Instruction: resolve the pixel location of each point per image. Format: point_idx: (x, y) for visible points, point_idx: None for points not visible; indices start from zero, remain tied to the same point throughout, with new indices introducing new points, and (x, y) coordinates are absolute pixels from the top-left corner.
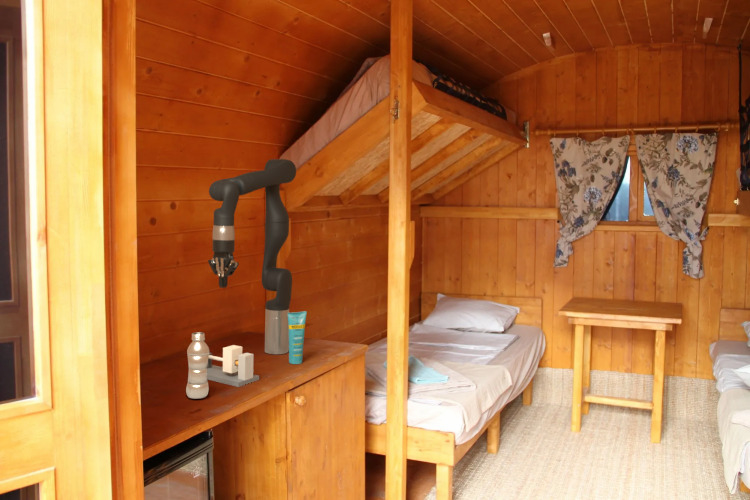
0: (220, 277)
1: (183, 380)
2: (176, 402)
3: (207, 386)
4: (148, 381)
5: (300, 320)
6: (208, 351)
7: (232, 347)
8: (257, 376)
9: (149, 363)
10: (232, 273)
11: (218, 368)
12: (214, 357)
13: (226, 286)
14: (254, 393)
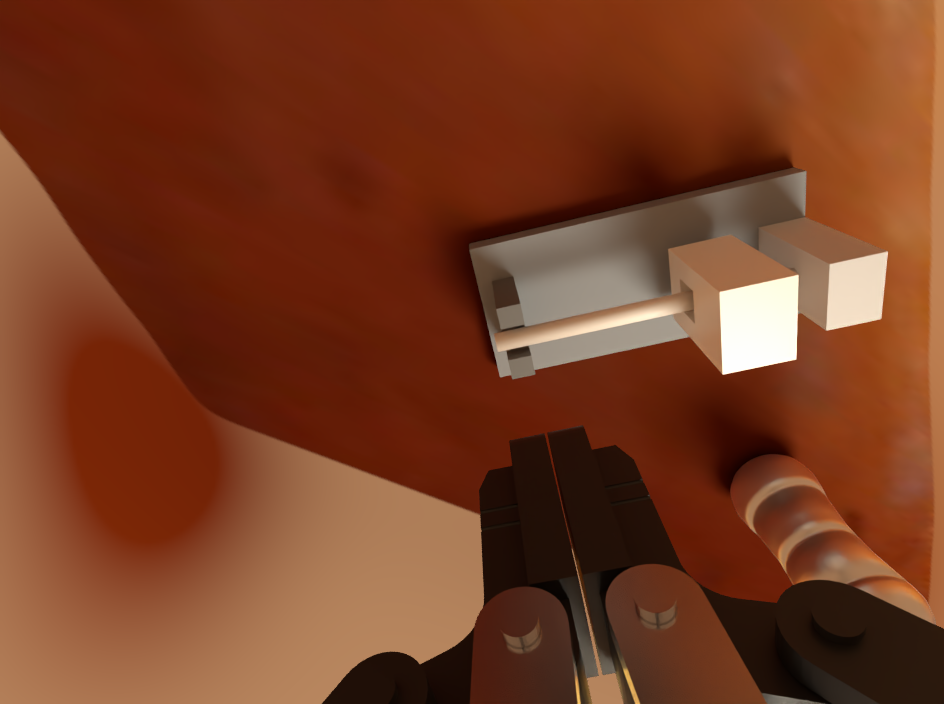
0: (587, 674)
1: (546, 419)
2: (741, 534)
3: (821, 486)
4: (472, 508)
5: None
6: (926, 601)
7: (760, 329)
8: (805, 184)
9: (220, 410)
10: (930, 641)
11: (552, 260)
12: (595, 330)
13: (584, 431)
14: (906, 301)
